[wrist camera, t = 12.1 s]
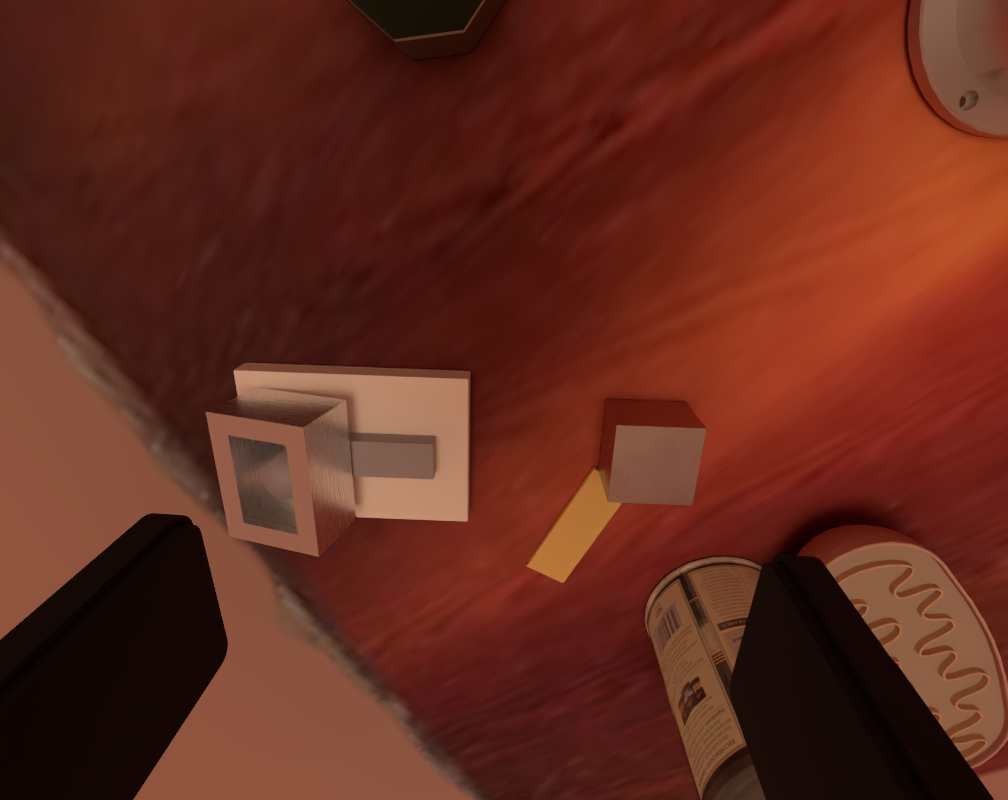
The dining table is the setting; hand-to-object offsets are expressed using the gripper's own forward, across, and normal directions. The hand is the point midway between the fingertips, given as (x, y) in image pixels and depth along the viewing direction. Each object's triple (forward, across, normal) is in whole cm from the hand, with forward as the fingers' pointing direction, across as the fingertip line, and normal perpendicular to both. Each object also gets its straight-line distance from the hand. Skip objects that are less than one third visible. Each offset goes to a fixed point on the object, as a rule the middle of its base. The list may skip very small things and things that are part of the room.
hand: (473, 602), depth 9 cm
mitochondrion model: (+25, -27, +23) cm, 43 cm away
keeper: (+23, +10, +10) cm, 27 cm away
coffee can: (+24, -15, +23) cm, 37 cm away
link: (+21, +13, +10) cm, 26 cm away
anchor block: (+24, -8, +9) cm, 27 cm away
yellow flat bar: (+24, -4, +16) cm, 29 cm away
